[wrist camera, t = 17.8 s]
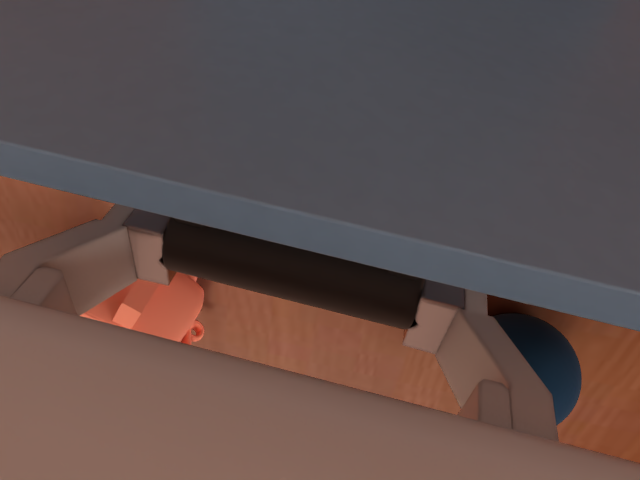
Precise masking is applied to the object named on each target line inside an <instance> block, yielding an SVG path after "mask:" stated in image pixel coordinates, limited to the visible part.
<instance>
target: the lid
mask: <svg viewBox="0 0 640 480" xmlns="http://www.w3.org/2000/svg"><path fill="white" fill-rule="evenodd" d="M0 176H4V177H8V178H12V179H16V180H20V181H25V182H29V183H33V184H37V185H41V186H45V187H49V188H53V189H57V190H61V191H66V192H70V193H74V194H78V195H82V196H86V197H90V198H94V199H98V200H103V201H107V202H111V203H115V204H119V205H123V206H127V207H131V208H135V209H140V210H144V211H148V212H152V213H156V214H160V215H164V216H168V217H170V218H169V221H168V223H167V228H166V231H165V235H164V241H163V246H162V258H163V263H164V265H165V267H166V268H168V269H169V270H171V271H175V272H179V273H183V274H187V275H191V276H195V277H199V278H203V279H207V280H211V281H215V282H219V283H223V284H227V285H231V286H234V287H238V288H242V289H246V290H250V291H254V292H258V293H262V294H266V295H270V296H274V297H278V298H282V299H286V300H290V301H294V302H298V303H302V304H306V305H310V306H314V307H318V308H322V309H326V310H330V311H333V312H337V313H341V314H345V315H349V316H353V317H357V318H361V319H365V320H369V321H373V322H377V323H381V324H385V325H389V326H393V327H397V328H401V329H405V330H406V329H409V328H410V327H411V325H412V324H413V322H414V319H415V317H416V314H417V307H418V303H419V300H420V295H421V291H422V289H423V286H424V282H425V279H427V280H431V281H435V282H439V283H443V284H448V285H452V286H456V287H460V288H464V289H468V290H472V291H476V292H480V293H485V294H489V295H493V296H497V297H501V298H505V299H509V300H513V301H517V302H522V303H526V304H530V305H534V306H538V307H542V308H546V309H550V310H554V311H558V312H563V313H567V314H571V315H575V316H579V317H583V318H587V319H591V320H595V321H600V322H604V323H608V324H612V325H616V326H620V327H624V328H628V329H632V330H637V331H640V0H0Z"/></svg>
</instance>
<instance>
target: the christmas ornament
mask: <svg viewBox="0 0 640 480" xmlns="http://www.w3.org/2000/svg"><path fill="white" fill-rule="evenodd" d="M493 317H494V318H495V320H496V321H497V322H498V324H499V325H500V326H501V328H502V329H503V330H504V332H505V333H506V334H507V336H508V337H509V338H510V340H511V341H512V342H513V344H514V345H515V346H516V347H517V349H518V350H519V351H520V353H521V354H522V355H523V357H524V358H525V359H526V361H527V362H528V363H529V365H530V366H531V367H532V369H533V370H534V371H535V373H536V374H537V375H538V377H539V378H540V379H541V381H542V382H543V383H544V385H545V386H546V387H547V389H548V390H549V391H550V393H551V394H552V397H553V405H554V412H555V419H556V425H558V424H559V423H561V422H562V421H563V420H564V419H565V418H566V417H567V416H568V415H569V414H570V412H571V411H572V410H573V408H574V406H575V405H576V403H577V400H578V397H579V394H580V390H581V369H580V365H579V361H578V358H577V356H576V354H575V351H574V349H573V348H572V346H571V345H570V343H569V342H568V340H567V339H566V338H565V337H564V336H563V335H562V334H561V333H560V332H559V331H558V330H557V329H556V328H554V327H553V326H552V325H550V324H549V323H547V322H545V321H543V320H541V319H539V318H536V317H533V316H530V315H525V314H519V313H507V314H500V315H496V316H493Z"/></svg>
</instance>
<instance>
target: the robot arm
mask: <svg viewBox="0 0 640 480" xmlns="http://www.w3.org/2000/svg"><path fill="white" fill-rule="evenodd" d="M169 218H170V217H168V216H164V215H160V214H156V213H152V212H148V211H144V210H140V209H135V208H131V207H127V206H123V205H119V204H115V205H114V206H113V207H112V208H111V209H110V210H109V212H108V213H107V214H106V215H105V216H104V217H103V219H102V220H97V219H95V220H92V221H90V222H87V223H84V224H82V225H79V226H77V227H74V228H71V229H69V230H66V231H64V232H61V233H58V234H56V235H53V236H51V237H48V238H45V239H43V240H40V241H38V242H35V243H33V244H30V245H27V246H25V247H22V248H20V249H17V250H14V251H12V252H9V253H7V254H4V255H3V256H2V257H1V258H0V480H640V463H637V462H633V461H630V460H626V459H622V458H618V457H614V456H611V455H607V454H603V453H599V452H595V451H592V450H588V449H584V448H580V447H576V446H573V445H569V444H565V443H561V442H559V440H558V433H557V426H556V419H555V412H554V405H553V397H552V394H551V393H550V391H549V390H548V389H547V387H546V386H545V385H544V383H543V382H542V381H541V379H540V378H539V377H538V375H537V374H536V373H535V371H534V370H533V369H532V367H531V366H530V365H529V363H528V362H527V361H526V359H525V358H524V357H523V355H522V354H521V353H520V351H519V350H518V349H517V347H516V346H515V345H514V344H513V342H512V341H511V340H510V338H509V337H508V336H507V334H506V333H505V332H504V330H503V329H502V328H501V326H500V325H499V324H498V322H497V321H496V320H495V318H494V317H491V316H488V311H487V294H485V293H480V292H476V291H472V290H468V289H464V288H460V287H456V286H452V285H448V284H443V283H439V282H435V281H431V280H427V279H425V282H424V286H423V289H422V291H421V295H420V300H419V303H418V307H417V314H416V317H415V319H414V322H413V324H412V325H411V327H410V328H409V329H406V330H405V329H404V335H403V344H402V345H404V346H408V347H411V348H415V349H418V350H422V351H426V352H429V353H433V354H436V355H435V357H436V359H437V361H438V363H439V365H440V367H441V369H442V371H443V373H444V375H445V377H446V379H447V381H448V383H449V385H450V387H451V389H452V391H453V393H454V395H455V397H456V399H457V402H458V404H459V406H460V408H461V410H460V412H459V413H458V415H455V414H451V413H447V412H443V411H440V410H436V409H432V408H428V407H424V406H421V405H417V404H413V403H409V402H405V401H402V400H398V399H394V398H390V397H386V396H383V395H379V394H375V393H371V392H367V391H364V390H360V389H356V388H352V387H348V386H345V385H341V384H337V383H333V382H329V381H326V380H322V379H318V378H314V377H310V376H307V375H303V374H299V373H295V372H291V371H287V370H284V369H280V368H276V367H272V366H268V365H265V364H261V363H257V362H253V361H249V360H246V359H242V358H238V357H234V356H230V355H227V354H223V353H219V352H215V351H211V350H208V349H204V348H200V347H196V346H192V345H189V344H185V343H181V342H177V341H173V340H170V339H166V338H162V337H158V336H154V335H151V334H147V333H143V332H139V331H135V330H132V329H128V328H124V327H120V326H116V325H113V324H109V323H105V322H101V321H97V320H94V319H90V318H86V317H82V316H80V315H82V314H83V313H85V312H87V311H88V310H90V309H91V308H93V307H95V306H96V305H98V304H100V303H101V302H103V301H104V300H106V299H108V298H109V297H111V296H113V295H114V294H116V293H117V292H119V291H121V290H122V289H124V288H125V287H127V286H129V285H130V284H132V283H134V282H135V281H137V279H142V280H146V281H150V282H155V283H159V284H164V285H168V286H169V284H170V282H171V281H172V279H173V277H174V276H175V274H176V272H175V271H171V270H169V269H168V268H166V267H165V265H164V263H163V258H162V246H163V241H164V235H165V231H166V228H167V223H168V221H169Z"/></svg>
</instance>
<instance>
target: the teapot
mask: <svg viewBox="0 0 640 480" xmlns="http://www.w3.org/2000/svg"><path fill="white" fill-rule="evenodd" d="M196 281H197V277H195V276H191V275H187V274H183V273H179V272H176V274H175V276H174V277H173V279H172V281H171V282H170V284H169V286H168V285H164V284H159V283H155V282H150V281H146V280H142V279H137V281H135V282H134V283H132V284H130V285H129V286H127V287H125V288H124V289H122V290H121V291H119V292H117V293H116V294H114V295H113V296H111V297H109V298H108V299H106V300H104V301H103V302H101V303H100V304H98V305H96V306H95V307H93V308H91V309H90V310H88V311H87V312H85V313H83V314H82V315H80V316H82V317H86V318H90V319H94V320H97V321H101V322H105V323H109V324H113V325H116V326H120V327H124V328H128V329H132V330H135V331H139V332H143V333H147V334H151V335H154V336H158V337H162V338H166V339H170V340H173V341H177V342H180V341H181V340H182V343H185V344H189V345H192V344H191V341H192V342H196V341H199V340H200V339H201V338H202V337H203V335H204V327H203V325H202V324H201V323H200V322H199V321H197V320H195V319H196V318H197V316H198V314H199V313H200V311H201V309H202V305H203V300H204V290H203V289H202V287H201V286H200V285H198V284H197V283H196ZM191 329H193V330H194V331H195V332H196V335H192V334H191Z"/></svg>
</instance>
